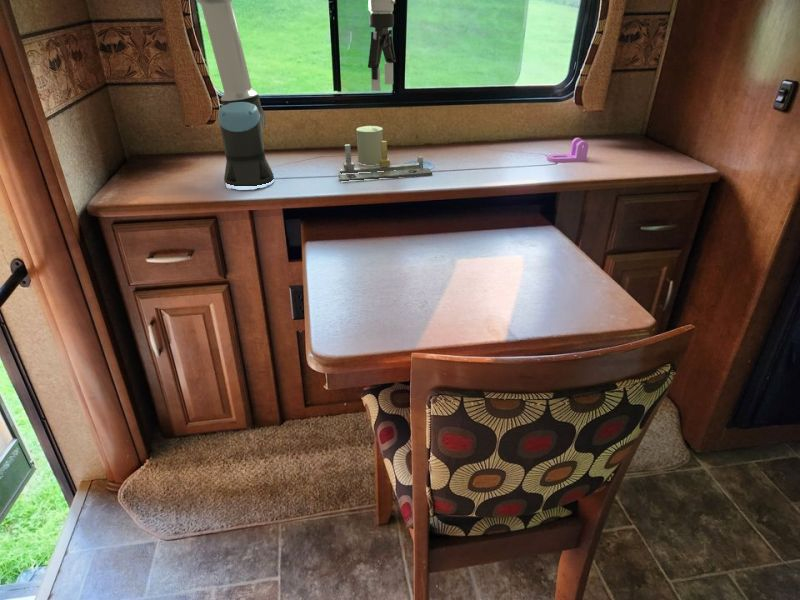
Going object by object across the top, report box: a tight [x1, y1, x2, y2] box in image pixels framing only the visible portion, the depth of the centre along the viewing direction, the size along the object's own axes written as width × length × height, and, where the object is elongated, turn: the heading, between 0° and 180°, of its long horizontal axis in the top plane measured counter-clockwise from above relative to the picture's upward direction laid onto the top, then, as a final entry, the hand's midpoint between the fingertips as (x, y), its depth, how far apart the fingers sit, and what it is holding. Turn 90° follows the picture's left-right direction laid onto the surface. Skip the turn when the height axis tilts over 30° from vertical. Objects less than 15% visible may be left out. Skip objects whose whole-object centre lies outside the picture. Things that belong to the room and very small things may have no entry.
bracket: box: [546, 137, 589, 163], centre depth 181 cm, size 13×6×7 cm, turn 97°
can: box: [355, 125, 384, 166], centre depth 180 cm, size 9×9×12 cm
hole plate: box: [338, 167, 433, 181], centre depth 168 cm, size 30×5×1 cm, turn 103°
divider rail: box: [339, 143, 424, 174], centre depth 172 cm, size 28×3×9 cm, turn 103°
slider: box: [378, 140, 391, 167], centre depth 171 cm, size 3×3×8 cm
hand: (382, 87), depth 169 cm, fingers open, 13 cm apart
